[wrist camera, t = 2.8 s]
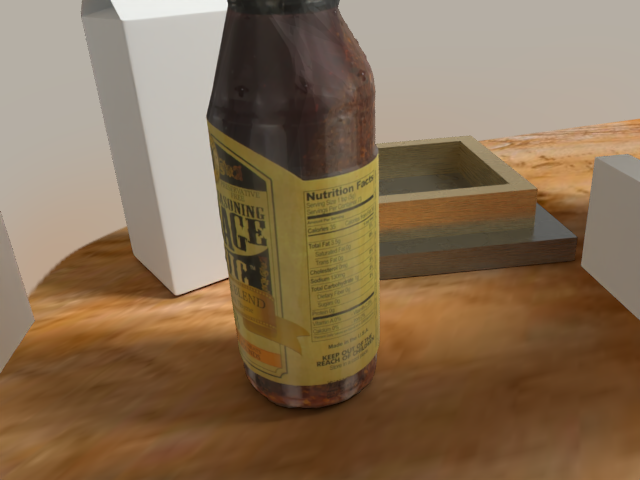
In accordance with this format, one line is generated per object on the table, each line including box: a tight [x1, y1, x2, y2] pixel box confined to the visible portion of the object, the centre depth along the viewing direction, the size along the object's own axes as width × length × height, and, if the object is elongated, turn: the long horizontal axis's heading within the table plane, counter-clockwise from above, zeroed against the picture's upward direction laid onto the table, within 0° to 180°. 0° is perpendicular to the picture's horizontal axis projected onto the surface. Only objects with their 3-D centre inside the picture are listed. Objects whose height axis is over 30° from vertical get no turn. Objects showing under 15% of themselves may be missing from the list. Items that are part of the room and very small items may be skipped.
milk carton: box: [81, 0, 229, 295], centre depth 34 cm, size 7×7×19 cm
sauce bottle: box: [206, 0, 380, 408], centre depth 23 cm, size 6×6×20 cm
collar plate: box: [376, 136, 577, 280], centre depth 41 cm, size 16×16×4 cm
